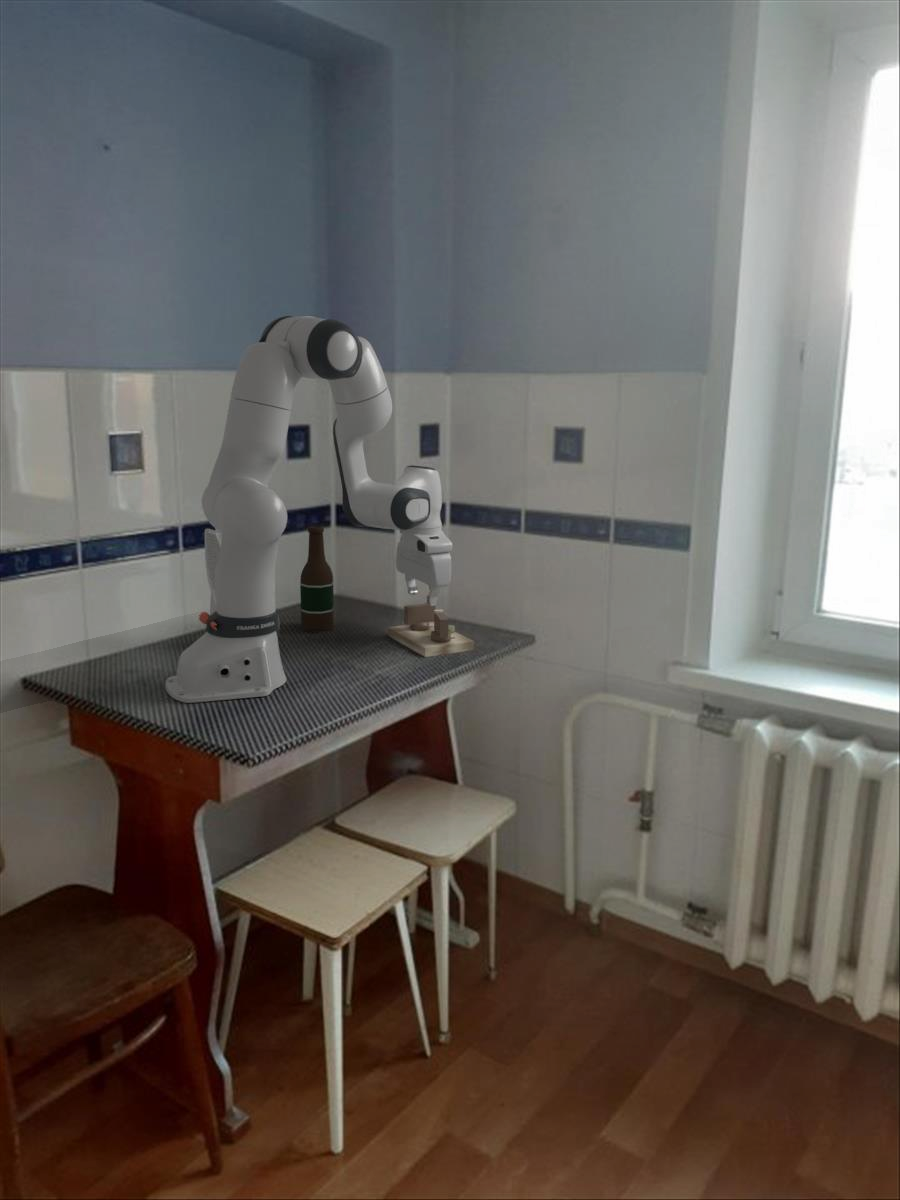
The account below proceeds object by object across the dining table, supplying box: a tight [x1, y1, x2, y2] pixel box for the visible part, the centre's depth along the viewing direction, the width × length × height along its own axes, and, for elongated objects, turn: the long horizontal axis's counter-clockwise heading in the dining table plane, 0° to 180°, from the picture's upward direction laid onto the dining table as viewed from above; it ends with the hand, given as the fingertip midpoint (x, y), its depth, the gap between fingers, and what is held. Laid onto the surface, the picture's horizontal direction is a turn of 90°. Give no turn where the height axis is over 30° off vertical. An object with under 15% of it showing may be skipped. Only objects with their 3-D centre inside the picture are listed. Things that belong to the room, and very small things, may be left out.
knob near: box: [431, 609, 451, 642], centre depth 202 cm, size 7×4×6 cm, turn 12°
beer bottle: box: [299, 525, 335, 633], centre depth 214 cm, size 8×8×24 cm
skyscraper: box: [204, 527, 221, 616], centre depth 199 cm, size 8×8×28 cm
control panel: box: [387, 622, 475, 658], centre depth 207 cm, size 12×18×4 cm
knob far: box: [403, 602, 437, 631], centre depth 210 cm, size 7×4×6 cm, turn 119°
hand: (422, 598), depth 209 cm, fingers open, 8 cm apart
